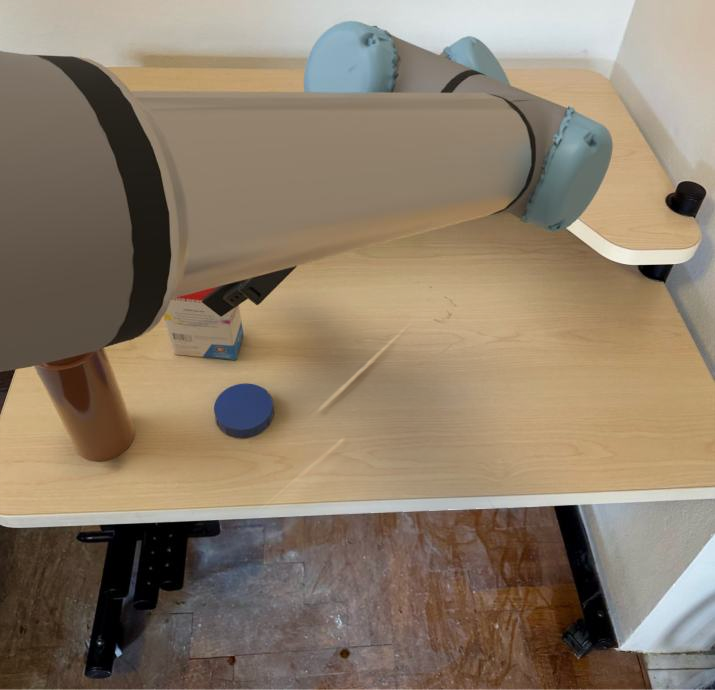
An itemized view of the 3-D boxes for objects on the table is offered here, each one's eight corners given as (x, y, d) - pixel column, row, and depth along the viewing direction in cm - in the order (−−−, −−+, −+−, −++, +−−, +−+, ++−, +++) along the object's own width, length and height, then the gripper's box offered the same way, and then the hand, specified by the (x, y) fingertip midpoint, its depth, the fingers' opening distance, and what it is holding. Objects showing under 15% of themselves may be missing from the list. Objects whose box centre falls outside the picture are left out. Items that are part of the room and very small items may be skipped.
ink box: (244, 334, 90) (232, 249, 79) (236, 362, 87) (222, 276, 76) (182, 328, 91) (162, 242, 80) (171, 355, 87) (148, 270, 76)
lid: (248, 382, 84) (247, 374, 83) (285, 414, 81) (284, 405, 80) (203, 414, 81) (201, 405, 80) (240, 448, 78) (239, 439, 77)
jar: (95, 472, 75) (47, 371, 62) (63, 437, 78) (10, 334, 65) (146, 435, 79) (110, 333, 66) (113, 404, 82) (72, 300, 69)
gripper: (370, 275, 58) (223, 365, 71) (401, 131, 75) (279, 223, 88) (309, 218, 55) (166, 323, 67) (356, 80, 72) (235, 184, 84)
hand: (229, 267), depth 77 cm, fingers open, 13 cm apart
